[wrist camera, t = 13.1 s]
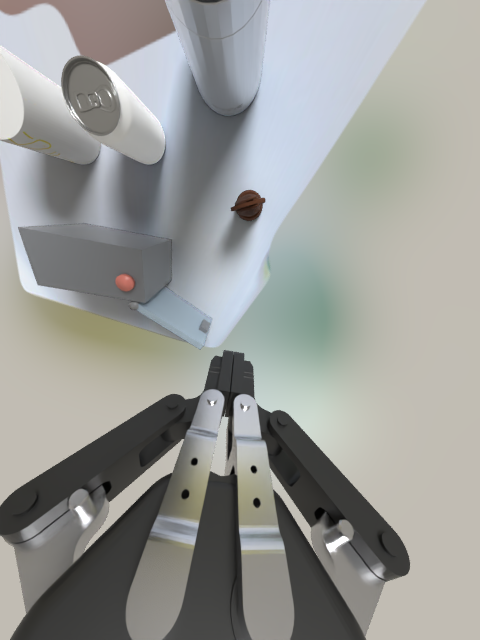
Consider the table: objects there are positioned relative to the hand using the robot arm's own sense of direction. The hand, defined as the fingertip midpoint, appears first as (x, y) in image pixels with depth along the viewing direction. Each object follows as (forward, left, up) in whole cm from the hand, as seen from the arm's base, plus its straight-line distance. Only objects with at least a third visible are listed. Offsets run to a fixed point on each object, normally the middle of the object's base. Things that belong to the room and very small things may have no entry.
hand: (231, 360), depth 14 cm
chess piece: (-11, +1, -29) cm, 30 cm away
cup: (-21, -26, -29) cm, 44 cm away
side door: (+7, -12, -27) cm, 30 cm away
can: (-20, -15, -29) cm, 38 cm away
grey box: (-3, -22, -28) cm, 36 cm away
